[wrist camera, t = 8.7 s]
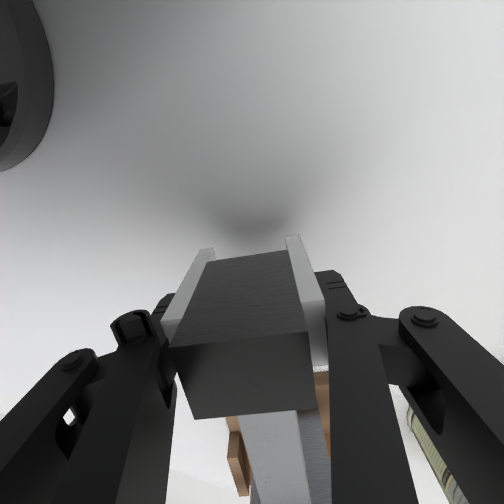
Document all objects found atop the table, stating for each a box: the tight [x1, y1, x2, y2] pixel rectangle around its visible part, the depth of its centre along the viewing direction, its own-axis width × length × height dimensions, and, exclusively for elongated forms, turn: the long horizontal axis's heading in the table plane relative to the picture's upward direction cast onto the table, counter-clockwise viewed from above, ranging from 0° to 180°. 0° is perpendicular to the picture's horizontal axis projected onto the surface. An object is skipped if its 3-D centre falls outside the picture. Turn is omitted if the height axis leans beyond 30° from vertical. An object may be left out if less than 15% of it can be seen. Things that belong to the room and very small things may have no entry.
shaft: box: [169, 250, 317, 504], centre depth 14 cm, size 20×4×6 cm, turn 10°
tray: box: [226, 371, 330, 496], centre depth 27 cm, size 14×12×4 cm
